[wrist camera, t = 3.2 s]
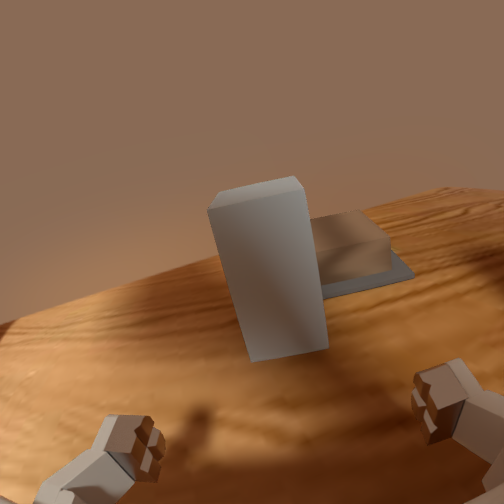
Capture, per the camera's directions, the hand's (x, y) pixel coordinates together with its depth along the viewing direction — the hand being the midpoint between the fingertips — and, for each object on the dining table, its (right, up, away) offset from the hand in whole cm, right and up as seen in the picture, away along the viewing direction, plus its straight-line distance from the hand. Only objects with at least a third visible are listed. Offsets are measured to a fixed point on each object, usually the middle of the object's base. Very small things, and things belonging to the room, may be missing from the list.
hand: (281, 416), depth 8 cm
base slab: (+7, +4, +21) cm, 23 cm away
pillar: (+2, -1, +13) cm, 13 cm away
